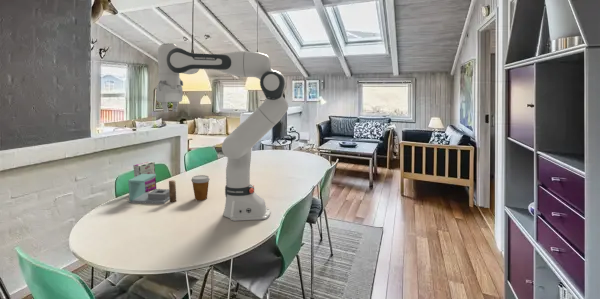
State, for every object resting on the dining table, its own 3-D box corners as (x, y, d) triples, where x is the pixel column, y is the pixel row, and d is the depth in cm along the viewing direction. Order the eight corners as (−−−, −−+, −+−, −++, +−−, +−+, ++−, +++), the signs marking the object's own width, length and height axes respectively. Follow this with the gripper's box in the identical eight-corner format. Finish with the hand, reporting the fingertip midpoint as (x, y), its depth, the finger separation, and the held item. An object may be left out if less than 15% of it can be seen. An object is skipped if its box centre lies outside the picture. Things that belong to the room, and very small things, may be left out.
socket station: (175, 195, 179) (174, 174, 177) (164, 203, 165) (162, 181, 163) (143, 194, 180) (142, 173, 178) (129, 202, 166) (128, 180, 164)
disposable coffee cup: (213, 197, 176) (213, 176, 174) (200, 202, 169) (199, 180, 167) (202, 194, 181) (201, 174, 180) (188, 199, 174) (187, 177, 172)
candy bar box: (150, 187, 193) (148, 161, 190) (156, 188, 191) (155, 162, 188) (134, 193, 182) (132, 164, 179) (141, 194, 180) (139, 165, 178)
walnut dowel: (177, 200, 171) (176, 180, 169) (174, 202, 168) (173, 182, 166) (171, 200, 171) (170, 180, 169) (168, 202, 168) (167, 182, 166)
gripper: (166, 80, 134) (167, 113, 136) (184, 82, 154) (185, 111, 156) (151, 80, 134) (153, 113, 136) (171, 82, 154) (172, 110, 156)
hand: (170, 112), depth 146 cm, fingers open, 8 cm apart
